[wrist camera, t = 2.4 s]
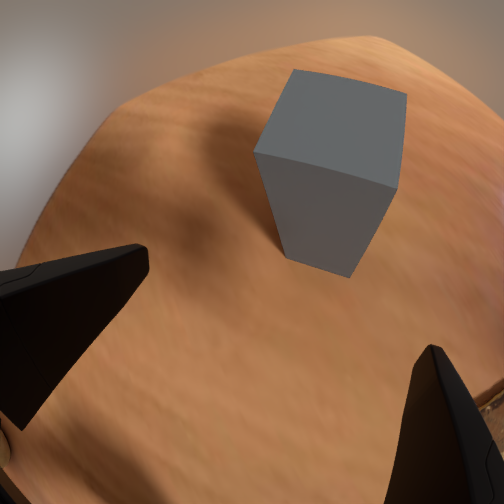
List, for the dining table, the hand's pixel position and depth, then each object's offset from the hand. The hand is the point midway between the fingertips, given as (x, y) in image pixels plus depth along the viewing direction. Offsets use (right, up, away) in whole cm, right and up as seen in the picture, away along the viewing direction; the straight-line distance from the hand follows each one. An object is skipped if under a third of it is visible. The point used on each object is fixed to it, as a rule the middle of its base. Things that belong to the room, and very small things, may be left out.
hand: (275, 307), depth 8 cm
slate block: (+5, +3, +14) cm, 15 cm away
